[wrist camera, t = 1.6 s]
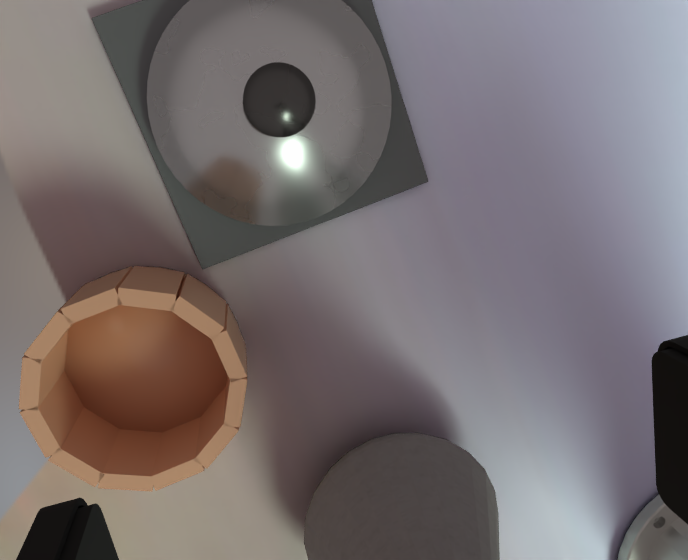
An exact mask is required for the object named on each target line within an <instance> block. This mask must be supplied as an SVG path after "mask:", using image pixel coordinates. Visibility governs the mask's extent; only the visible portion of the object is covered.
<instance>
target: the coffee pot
mask: <svg viewBox="0 0 688 560" xmlns="http://www.w3.org/2000/svg"><path fill="white" fill-rule="evenodd" d="M304 545H305V549H306V553H307V556H308V560H500V558H499V521H498V508H497V501H496V495H495V490H494V488H493V485H492V483H491V481H490V479H489V477H488V475H487V473H486V471H485V469H484V468H483V467H482V466H481V465H480V464H479V463H478V462H477V461H476V459H475V458H474V457H473V456H472V455H471V454H470V453H469V452H467V451H466V450H464V449H462V448H461V447H459V446H457V445H455V444H453V443H452V442H450V441H448V440H446V439H442V438H438V437H433V436H429V435H425V434H420V433H394V434H390V435H386V436H382V437H379V438H375V439H371V440H369V441H367V442H365V443H364V444H362V445H360V446H358V447H356V448H354V449H352V450H351V451H349V452H348V453H347V454H346V455H344V456H343V457H342V458H341V459H340V460H339V461H338V462H337V463H335V464H334V465H333V466H332V467H331V468H330V470H329V471H328V473H327V474H326V476H325V477H324V478H323V480H322V481H321V483H320V484H319V486H318V487H317V489H316V491H315V492H314V494H313V497H312V500H311V503H310V506H309V508H308V511H307V514H306V518H305V534H304Z"/></svg>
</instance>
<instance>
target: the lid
mask: <svg viewBox="0 0 688 560" xmlns="http://www.w3.org/2000/svg"><path fill="white" fill-rule="evenodd" d="M147 106H148V116H149V121H150V125H151V129H152V133H153V136H154V139H155V141H156V144H157V147H158V149H159V151H160V153H161V155H162V157H163V159H164V161H165V163H166V164H167V166H168V167H169V169H170V170H171V172H172V173H173V175H174V176H175V177H176V178H177V180H178V181H179V182H180V183H181V184H182V185H183V186H184V187H185V189H186V190H187V191H189V192H190V193H191V194H192V195H193V196H194V197H195V198H197V199H198V200H199V201H201V202H202V203H204V204H205V205H207V206H208V207H209V208H211V209H213V210H215V211H217V212H219V213H221V214H223V215H225V216H227V217H230V218H232V219H235V220H238V221H241V222H246V223H250V224H255V225H265V226H282V225H291V224H297V223H302V222H305V221H308V220H311V219H315V218H317V217H319V216H321V215H324V214H326V213H328V212H330V211H331V210H333V209H335V208H336V207H338V206H339V205H341V204H342V203H344V202H345V201H346V200H347V199H348V198H350V197H351V196H352V195H353V194H354V193H355V192H356V191H357V190H358V189H359V188H360V187H361V186H362V185H363V184H364V182H365V181H366V180H367V178H368V177H369V175H370V174H371V173H372V171H373V169H374V168H375V166H376V164H377V162H378V160H379V158H380V156H381V154H382V151H383V148H384V146H385V143H386V140H387V136H388V132H389V128H390V120H391V88H390V80H389V76H388V72H387V68H386V64H385V61H384V59H383V56H382V53H381V51H380V48H379V46H378V44H377V43H376V41H375V39H374V37H373V35H372V33H371V32H370V31H369V29H368V28H367V26H366V25H365V24H364V22H363V21H362V19H361V18H360V17H359V16H358V15H357V14H356V13H355V12H354V11H353V10H352V9H351V8H350V7H349V6H348V5H347V4H346V3H344V2H343V1H342V0H190V1H189V2H187V3H186V4H185V5H184V6H183V7H182V8H181V9H180V10H179V11H178V12H177V14H176V15H175V16H174V17H173V18H172V20H171V21H170V23H169V24H168V26H167V27H166V29H165V30H164V32H163V33H162V35H161V38H160V40H159V42H158V44H157V46H156V48H155V51H154V54H153V58H152V61H151V64H150V69H149V75H148V81H147Z"/></svg>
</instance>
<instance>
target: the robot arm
mask: <svg viewBox="0 0 688 560" xmlns="http://www.w3.org/2000/svg"><path fill="white" fill-rule="evenodd" d="M652 383H653V410H654V436H655V463H656V485H657V490H658V493H659V494H658V495H657V496H656V497H655V498H654V499H653V500H652V501H651V502H649V503H648V504H647V505H646V506H645V507H644V509H643V510H642V511H641V512H640V513H639V514H638V516H637V517H636V518H635V519H634V521H633V523H632V524H631V526H630V528H629V529H628V531H627V533H626V535H625V537H624V540H623V542H622V545H621V547H620V550H619V555H618V560H688V335H686V336H683V337H679V338H675V339H671V340H668V341H664V342H663V343H661V344H660V346H659V348H658V352H656V353H655V354H654V355H653V357H652ZM16 560H119V558H118V556H117V553H116V550H115V547H114V544H113V541H112V539H111V536H110V533H109V530H108V527H107V524H106V522H105V519H104V516H103V513H102V511H101V508H100V507H99V505H98V504H92V505H89V506H88V505H87V503H86V502H85V501H84V499H82V498H77V499H74V500H70V501H66V502H62V503H59V504H55V505H51V506H47V507H44V508H41V509H40V510H39V512H38V513H37V516H36V518H35V520H34V522H33V524H32V526H31V529H30V531H29V533H28V535H27V537H26V540H25V542H24V544H23V546H22V548H21V550H20V553H19V555H18V557H17V559H16Z"/></svg>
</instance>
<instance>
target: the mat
mask: <svg viewBox="0 0 688 560" xmlns="http://www.w3.org/2000/svg"><path fill="white" fill-rule="evenodd" d="M189 1H190V0H142V1H139V2H136V3H134V4H131V5H128V6H125V7H122V8H119V9H116V10H114V11H111V12H108V13H105V14H102V15H99V16H97V17H94V18H92V20H93V23H94V25H95V27H96V29H97V32H98V34H99V36H100V38H101V41H102V43H103V45H104V47H105V50H106V52H107V54H108V56H109V59H110V61H111V63H112V66H113V68H114V70H115V72H116V75H117V77H118V79H119V81H120V84H121V86H122V88H123V90H124V93H125V95H126V97H127V99H128V102H129V104H130V106H131V109H132V111H133V113H134V115H135V118H136V120H137V122H138V124H139V127H140V129H141V131H142V133H143V136H144V138H145V140H146V142H147V145H148V147H149V149H150V152H151V154H152V156H153V158H154V161H155V163H156V165H157V167H158V170H159V172H160V174H161V176H162V179H163V181H164V183H165V185H166V188H167V190H168V192H169V195H170V197H171V199H172V201H173V204H174V206H175V208H176V210H177V213H178V215H179V217H180V219H181V222H182V224H183V226H184V228H185V231H186V233H187V235H188V238H189V240H190V242H191V244H192V247H193V249H194V251H195V253H196V256H197V258H198V260H199V262H200V265H201V267H202V269H205V268H207V267H210V266H212V265H215V264H218V263H220V262H223V261H225V260H228V259H230V258H233V257H236V256H238V255H241V254H243V253H246V252H248V251H251V250H254V249H256V248H259V247H261V246H264V245H266V244H269V243H272V242H274V241H277V240H279V239H282V238H284V237H287V236H290V235H292V234H295V233H297V232H300V231H302V230H305V229H308V228H310V227H313V226H315V225H318V224H320V223H323V222H326V221H328V220H331V219H333V218H336V217H339V216H341V215H344V214H346V213H349V212H351V211H354V210H357V209H359V208H362V207H364V206H367V205H369V204H372V203H375V202H377V201H380V200H382V199H385V198H387V197H390V196H393V195H395V194H398V193H400V192H403V191H405V190H408V189H411V188H413V187H416V186H418V185H421V184H423V183H426V182H428V179H427V175H426V172H425V169H424V166H423V163H422V160H421V156H420V153H419V150H418V147H417V144H416V140H415V137H414V134H413V131H412V128H411V125H410V121H409V118H408V115H407V112H406V109H405V105H404V102H403V99H402V96H401V93H400V90H399V86H398V83H397V80H396V77H395V74H394V70H393V67H392V64H391V61H390V58H389V55H388V51H387V48H386V45H385V42H384V39H383V35H382V32H381V29H380V26H379V23H378V20H377V16H376V13H375V10H374V7H373V4H372V0H342V1H343V2H344V3H346V4H347V5H348V6H349V7H350V8H351V9H352V10H353V11H354V12H355V13H356V14H357V15H358V16H359V17H360V18H361V19H362V21H363V22H364V24H365V25H366V26H367V28H368V29H369V31H370V32H371V33H372V35H373V37H374V39H375V41H376V43H377V44H378V46H379V48H380V51H381V53H382V56H383V59H384V61H385V64H386V68H387V72H388V76H389V80H390V88H391V120H390V128H389V132H388V136H387V140H386V143H385V146H384V148H383V151H382V154H381V156H380V158H379V160H378V162H377V164H376V166H375V168H374V169H373V171H372V173H371V174H370V175H369V177H368V178H367V180H366V181H365V182H364V184H363V185H362V186H361V187H360V188H359V189H358V190H357V191H356V192H355V193H354V194H353V195H352V196H351V197H350V198H348V199H347V200H346V201H345V202H344V203H342V204H341V205H339V206H338V207H336V208H335V209H333V210H331V211H330V212H328V213H326V214H324V215H321V216H319V217H317V218H315V219H311V220H308V221H305V222H302V223H297V224H291V225H282V226H265V225H255V224H250V223H246V222H241V221H238V220H235V219H232V218H230V217H227V216H225V215H223V214H221V213H219V212H217V211H215V210H213V209H211V208H209V207H208V206H207V205H205V204H204V203H202V202H201V201H199V200H198V199H197V198H195V197H194V196H193V195H192V194H191V193H190V192H189V191H187V190H186V189H185V187H184V186H183V185H182V184H181V183H180V182H179V181H178V180H177V178H176V177H175V176H174V175H173V173H172V172H171V170H170V169H169V167H168V166H167V164H166V163H165V161H164V159H163V157H162V155H161V153H160V151H159V149H158V147H157V144H156V141H155V139H154V136H153V133H152V129H151V125H150V121H149V116H148V106H147V81H148V75H149V69H150V64H151V61H152V58H153V54H154V51H155V48H156V46H157V44H158V42H159V40H160V38H161V35H162V33H163V32H164V30H165V29H166V27H167V26H168V24H169V23H170V21H171V20H172V18H173V17H174V16H175V15H176V14H177V12H178V11H179V10H180V9H181V8H182V7H183V6H184V5H185V4H186V3H187V2H189Z"/></svg>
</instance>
